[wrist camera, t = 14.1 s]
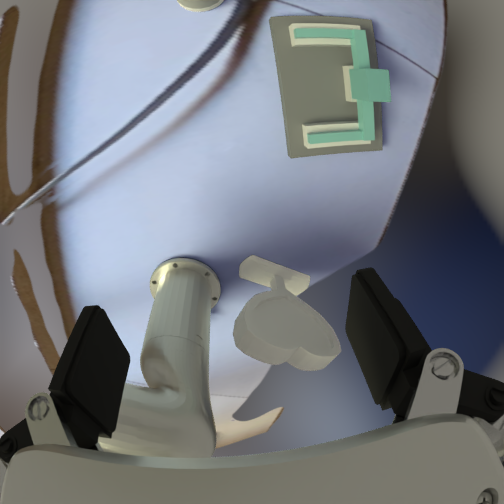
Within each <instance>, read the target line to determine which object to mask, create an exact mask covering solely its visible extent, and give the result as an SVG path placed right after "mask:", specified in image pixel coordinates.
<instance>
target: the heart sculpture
mask: <svg viewBox="0 0 504 504" xmlns="http://www.w3.org/2000/svg"><path fill="white" fill-rule="evenodd" d="M239 277H240V278H243V279H246V280H249V281H252V282H255V283H258V284H261V285H264V286H267V287H270V288H271V290H272V291H266V292H263V293H260V294H257V295H254V296H253V297H252V298H251V299H250V300H249V301H248V302H247V303H246V304H245V306H244V308H243V309H242V311H241V312H240V314H239V315H238V317H237V319H236V320H235V325H234V330H233V336H234V341H235V345H236V347H237V348H239V349H240V350H241V351H242V352H243V353H244V354H246V355H248V356H250V357H252V358H254V359H256V360H259V361H261V362H264V363H268V364H272V365H278V364H281V363H284V362H288V363H289V364H291V365H292V366H294V367H295V368H298V369H300V370H305V371H314V370H320V369H323V368H325V367H326V366H327V365H328V364H329V363H330V362H331V361H332V360H333V359H334V358H335V357H336V356H337V355H338V354H339V353H340V352H341V347H340V343H339V340H338V338H337V336H336V334H335V332H334V330H333V328H332V327H331V326H330V325H329V324H328V323H327V322H326V320H325V319H324V318H323V317H322V316H321V315H320V314H319V313H318V312H316V311H315V310H314V309H313V308H311V307H310V306H309V305H308V304H306V303H305V302H304V301H302V300H301V299H299V298H298V297H296V296H297V295H299V294H300V293H302V292H303V291H305V290H306V289H307V288H308V286H309V282H310V276H308V275H305V274H303V273H300V272H297V271H295V270H292V269H289V268H287V267H284V266H281V265H278V264H276V263H273V262H270V261H268V260H265V259H262V258H260V257H257V256H254V255H251V256H250V257H248V258H247V259H245V260H244V261H243V262H242V263H241V264H240V267H239Z"/></svg>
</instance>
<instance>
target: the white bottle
mask: <svg viewBox="0 0 504 504" xmlns="http://www.w3.org/2000/svg"><path fill="white" fill-rule="evenodd" d="M177 1H178V3H179V4H180V6H182V7H183V8H185V9H186V10H189V11H193V12H204V11H209V10H212V9H214V8H216V7H218V6H219V5H220V4H221V3H222V2H223V1H224V0H177Z"/></svg>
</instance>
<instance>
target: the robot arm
mask: <svg viewBox="0 0 504 504" xmlns="http://www.w3.org/2000/svg"><path fill="white" fill-rule="evenodd" d="M150 290H151V294H152V296H153V298H154V302H153V306H152V310H151V314H150V318H149V322H148V326H147V330H146V334H145V338H144V342H143V347H142V351H141V356H140V366H141V371H142V374H143V376H144V379H145V381H146V382H147V384H148V386H149V388H148V387H141V386H137V385H133V384H129V383H125V381H126V377H127V373H128V368H129V364H130V355H129V353H128V351H127V349H126V348H125V346H124V344H123V343H122V341H121V339H120V338H119V336H118V334H117V332H116V331H115V329H114V327H113V325H112V323H111V322H110V320H109V318H108V316H107V314H106V312H105V311H104V309H101V308H100V307H99V306H98V305H94V306H85V307H84V308H83V310H82V312H81V314H80V316H79V318H78V320H77V322H76V324H75V326H74V328H73V331H72V333H71V335H70V337H69V339H68V342H67V344H66V346H65V348H64V351H63V353H62V356H61V358H60V360H59V362H58V365H57V367H56V370H55V372H54V375H53V378H52V380H51V383H50V385H49V388H48V389H49V390H50V391H51V393H50V396H49V395H48V394H47V393H37V394H35V395H34V396H33V397H31V398H30V400H29V401H28V403H27V405H26V409H25V416H26V418H25V419H24V420H22V421H21V422H20V423H18V424H17V425H15V426H14V427H13V428H11V429H10V430H8V431H7V432H6V433H4V434H3V435H2V436H1V438H0V504H504V383H502V382H500V381H498V380H495V379H492V378H489V377H485V376H483V375H480V374H477V373H474V372H471V371H468V370H465V369H464V368H463V362H462V360H461V359H460V357H459V356H458V355H457V354H456V353H455V352H454V351H451V350H449V349H444V348H440V349H435V350H433V351H432V350H431V348H430V347H429V345H428V344H427V342H426V340H425V339H424V337H423V336H422V334H421V332H420V331H419V329H418V328H417V326H416V325H415V323H414V322H413V320H412V319H411V317H410V316H409V314H408V313H407V311H406V310H405V308H404V307H403V305H402V304H401V302H400V301H399V300H398V299H396V298H394V297H393V295H392V294H391V293H390V291H389V290H388V288H387V287H386V285H385V284H384V282H383V281H382V280H381V278H380V277H379V275H378V274H377V273H376V271H375V270H374V269H373V268H366V269H360V270H357V272H356V274H355V275H353V276H352V281H351V290H350V297H349V305H348V312H347V319H346V334H347V336H348V339H349V341H350V343H351V345H352V348H353V350H354V353H355V355H356V358H357V360H358V362H359V365H360V367H361V369H362V372H363V374H364V377H365V379H366V382H367V384H368V387H369V389H370V391H371V394H372V397H373V399H374V401H375V403H376V404H377V405H378V404H380V406H381V408H382V410H385V409H389V408H392V409H393V411H394V413H395V414H396V415H395V418H394V420H393V423H392V425H388V426H385V427H382V428H378V429H375V430H372V431H368V432H365V433H361V434H358V435H354V436H350V437H347V438H343V439H338V440H334V441H330V442H326V443H321V444H317V445H312V446H307V447H302V448H297V449H290V450H284V451H277V452H270V453H263V454H253V455H244V456H230V457H212V455H213V453H214V451H215V447H216V428H215V422H214V417H213V412H212V407H211V401H210V393H209V343H210V317H211V309H212V308H213V307H214V306H215V305H216V303H217V302H218V300H219V297H220V291H221V289H220V282H219V279H218V277H217V275H216V274H215V273H214V271H213V270H212V269H211V268H209V267H208V266H207V265H205V264H203V263H202V262H199V261H197V260H194V259H189V258H175V259H171V260H168V261H165V262H163V263H162V264H160V265H159V266H158V267H157V268H156V269H155V271H154V272H153V274H152V277H151V280H150Z"/></svg>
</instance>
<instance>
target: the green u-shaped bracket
mask: <svg viewBox="0 0 504 504" xmlns="http://www.w3.org/2000/svg"><path fill="white" fill-rule="evenodd" d="M293 31H294V37H295V39H302V38H333V39H350V43H351V50H352V58H353V66H354V69H349V74H350V84H351V94H352V99H357V109H358V126H359V130H344V131H329V132H317V133H307V139H308V143H309V144H318V143H329V142H341V141H356V140H364V141H369V140H375V129H374V107H373V102H391V93H390V80H389V70H383V69H370V61H369V53H368V46H367V39H366V32H365V30H357V29H353V30H350V29H331V28H295V29H294V30H293Z"/></svg>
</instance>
